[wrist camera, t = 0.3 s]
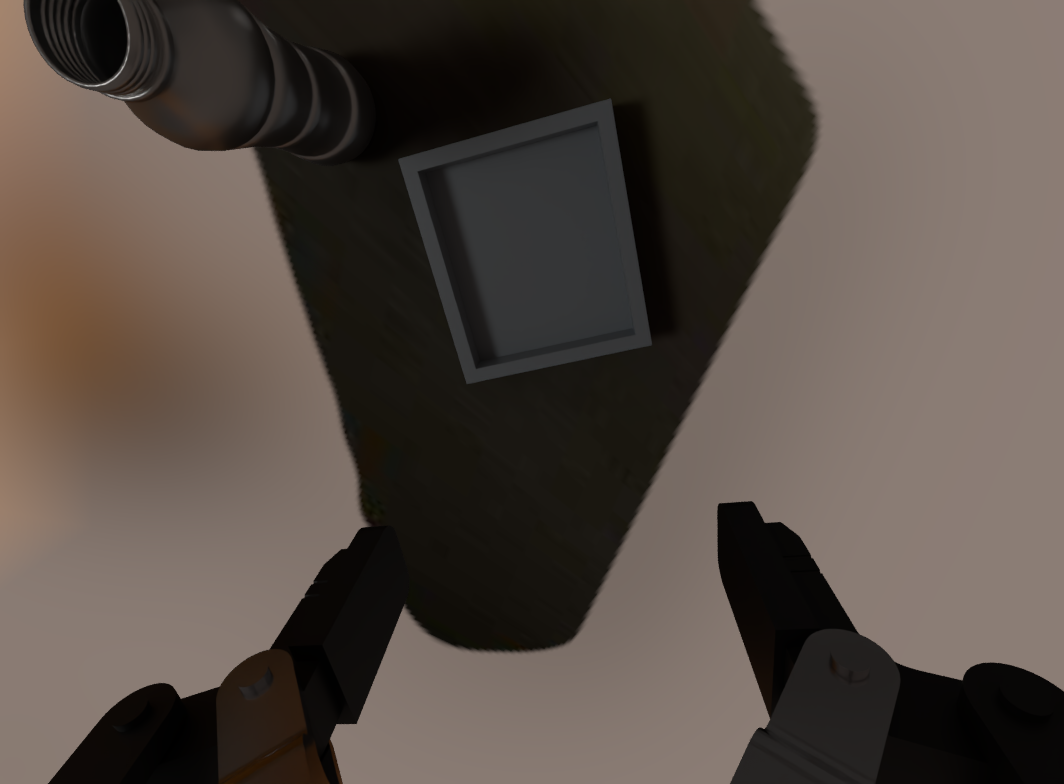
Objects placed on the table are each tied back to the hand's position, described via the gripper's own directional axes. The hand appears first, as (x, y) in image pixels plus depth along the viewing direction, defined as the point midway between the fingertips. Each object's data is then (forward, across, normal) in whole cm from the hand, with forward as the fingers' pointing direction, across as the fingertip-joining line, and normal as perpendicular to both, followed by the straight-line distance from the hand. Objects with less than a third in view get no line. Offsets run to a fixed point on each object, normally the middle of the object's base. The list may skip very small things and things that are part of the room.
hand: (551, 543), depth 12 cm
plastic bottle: (+29, +14, -14) cm, 35 cm away
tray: (+28, +2, -3) cm, 29 cm away
